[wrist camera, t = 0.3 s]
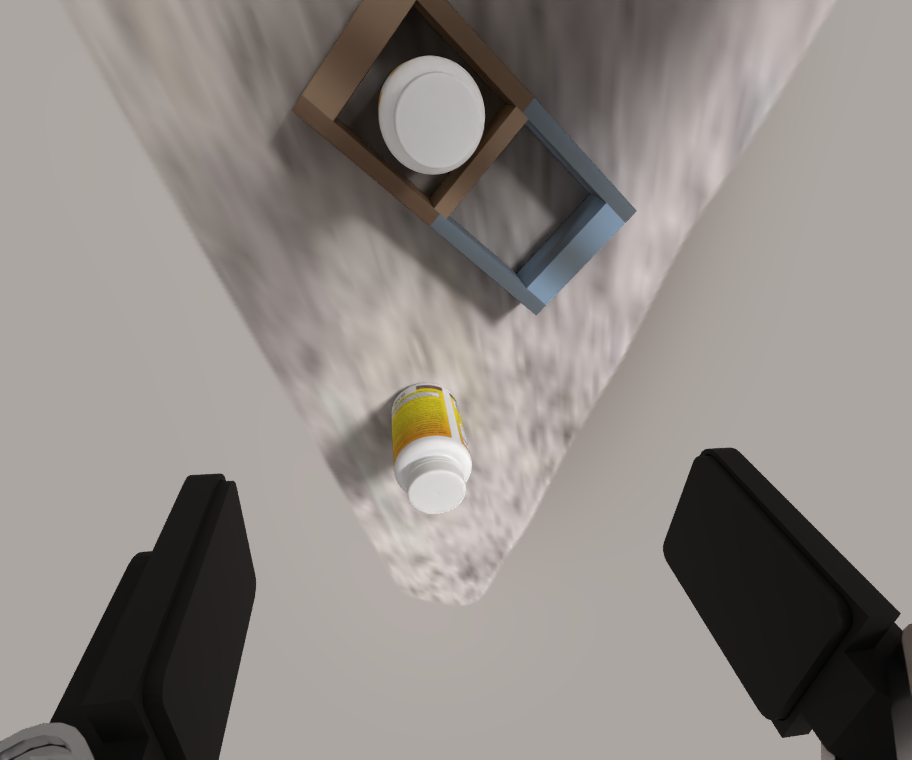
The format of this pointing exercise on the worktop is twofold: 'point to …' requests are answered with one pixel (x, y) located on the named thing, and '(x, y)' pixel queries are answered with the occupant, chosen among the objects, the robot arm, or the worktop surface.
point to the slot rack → (569, 242)
